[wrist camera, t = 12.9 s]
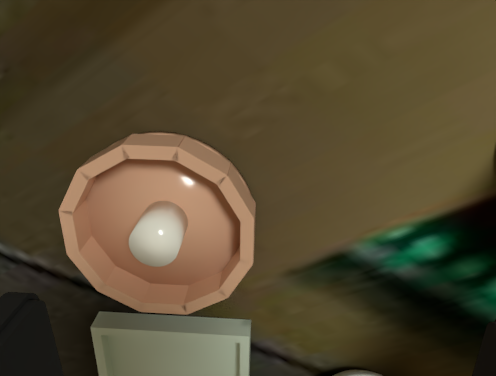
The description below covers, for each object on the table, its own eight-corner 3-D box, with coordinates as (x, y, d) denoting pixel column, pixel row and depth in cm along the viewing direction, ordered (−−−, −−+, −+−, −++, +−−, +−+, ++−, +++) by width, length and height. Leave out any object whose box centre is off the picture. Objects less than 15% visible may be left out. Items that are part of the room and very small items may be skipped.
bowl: (258, 134, 38) (256, 149, 34) (253, 292, 45) (251, 318, 42) (67, 127, 39) (45, 142, 35) (92, 283, 46) (77, 308, 42)
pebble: (187, 201, 40) (177, 224, 36) (188, 241, 42) (179, 268, 38) (141, 199, 40) (126, 222, 36) (144, 239, 42) (131, 265, 38)
